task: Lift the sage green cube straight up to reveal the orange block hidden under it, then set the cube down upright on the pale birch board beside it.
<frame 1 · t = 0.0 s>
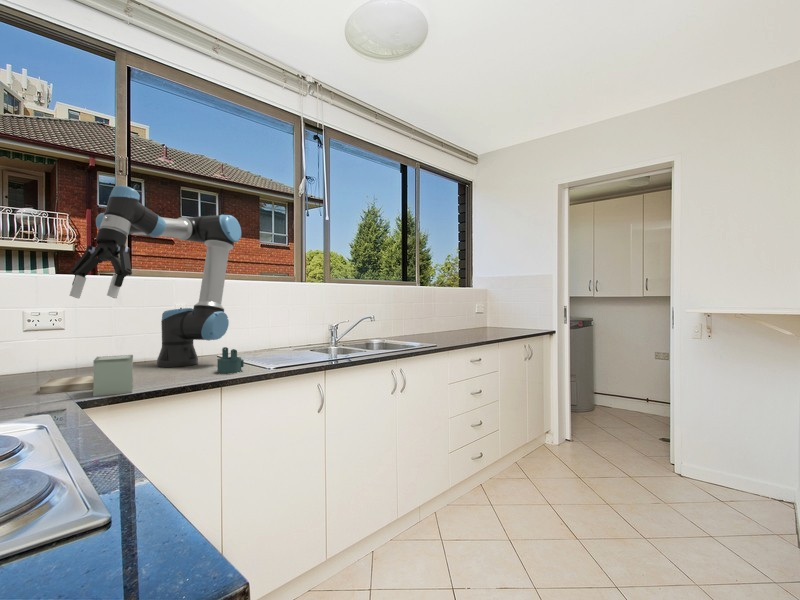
hand: (92, 297, 122), 28 cm above the countertop, tool tilted 20°, fingers open, 13 cm apart
bracket: (230, 372, 155), on the countertop
sage green cube: (114, 391, 122), on the countertop
birch board: (74, 387, 128), on the countertop
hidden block: (114, 385, 122), in the sage green cube
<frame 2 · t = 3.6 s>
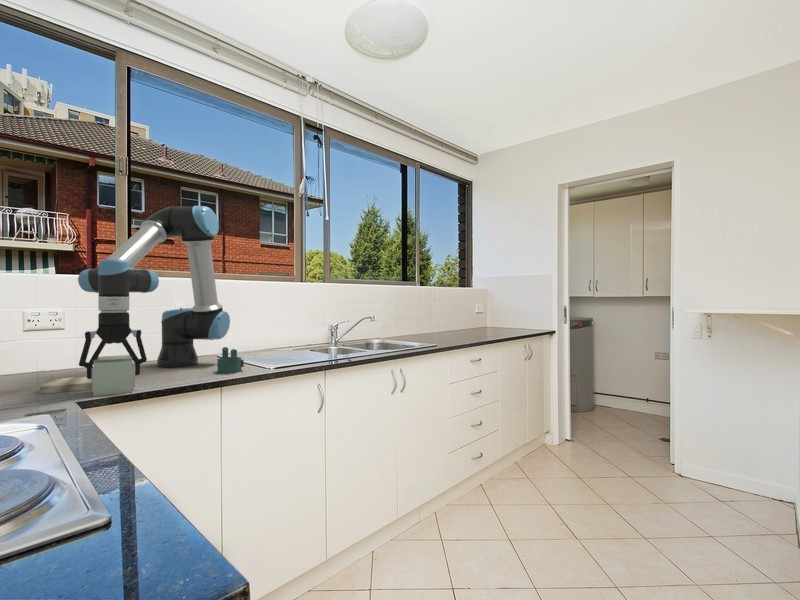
hand: (114, 388, 122), 1 cm above the countertop, tool pointing down, fingers closed on sage green cube, 9 cm apart
sage green cube: (114, 391, 122), on the countertop, touching gripper
everything else where it was.
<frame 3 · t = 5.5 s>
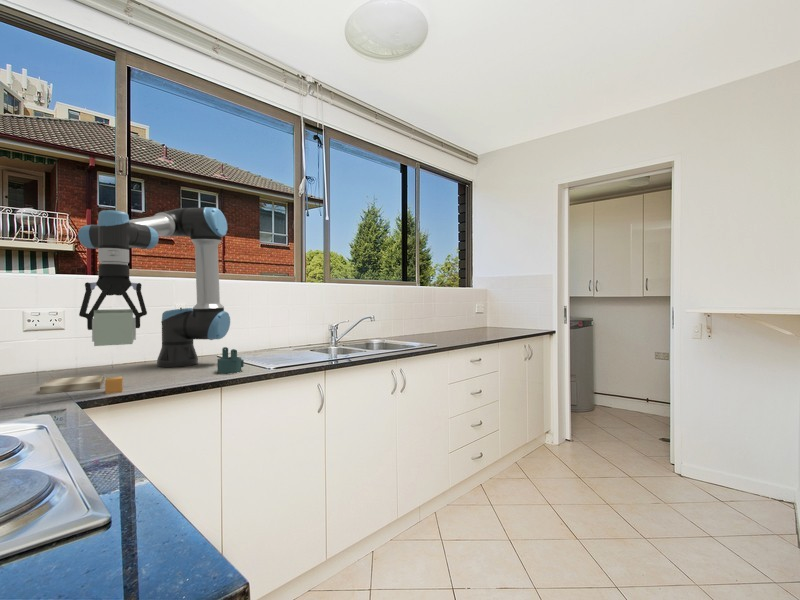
hand: (114, 340, 122), 15 cm above the countertop, tool pointing down, fingers closed on sage green cube, 9 cm apart
sage green cube: (114, 343, 122), point 14 cm above the countertop, touching gripper
everything else where it was.
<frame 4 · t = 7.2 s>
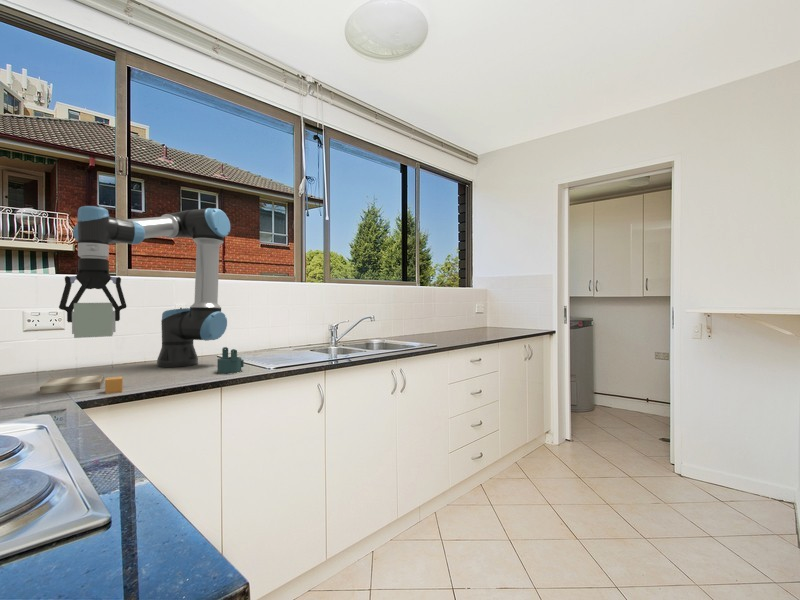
hand: (94, 332, 126), 17 cm above the countertop, tool pointing down, fingers closed on sage green cube, 9 cm apart
sage green cube: (94, 335, 126), point 16 cm above the countertop, touching gripper
everything else where it was.
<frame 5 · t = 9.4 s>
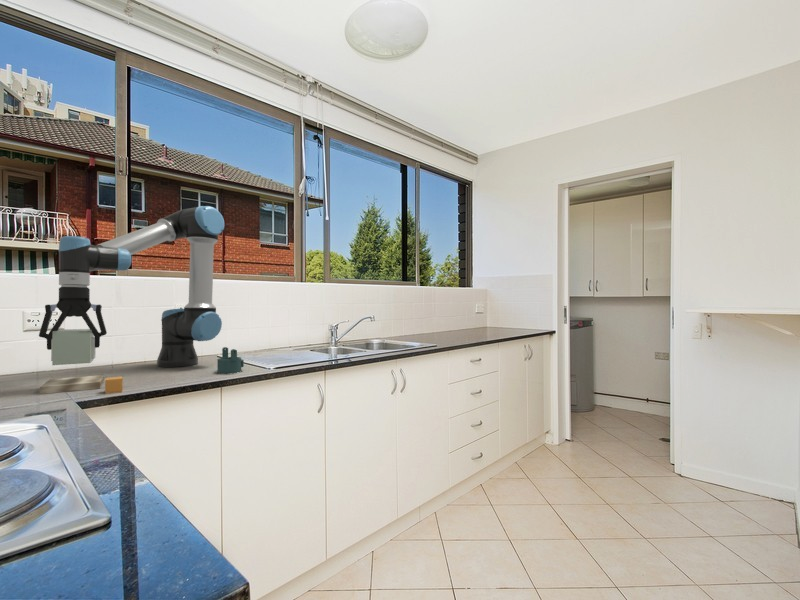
hand: (73, 359, 128), 9 cm above the countertop, tool pointing down, fingers closed on sage green cube, 9 cm apart
sage green cube: (73, 362, 128), point 8 cm above the countertop, touching gripper
everything else where it was.
when the fingers open (4 cm above the countertop, at t = 11.2 s): sage green cube stays where it is, resting on birch board.
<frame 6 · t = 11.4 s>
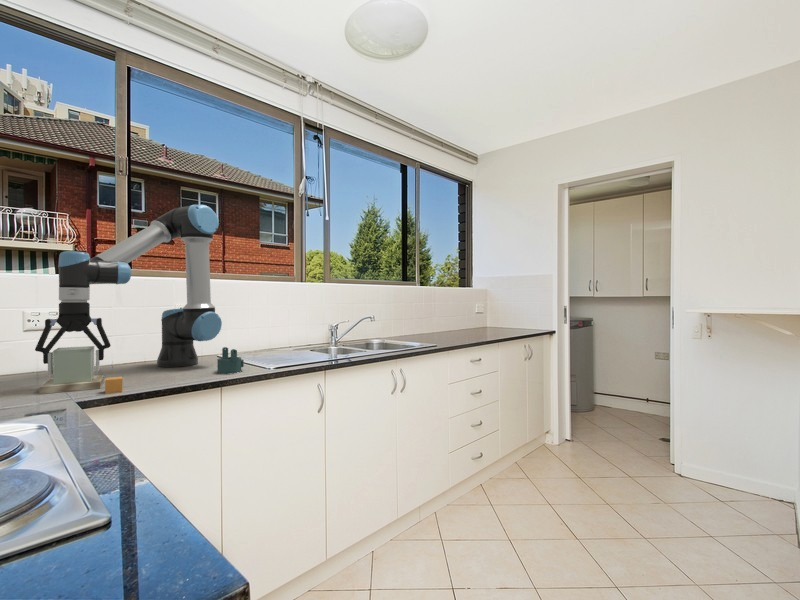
hand: (74, 372, 128), 4 cm above the countertop, tool pointing down, fingers open, 11 cm apart
sage green cube: (74, 380, 128), point 2 cm above the countertop, touching birch board
everything else where it was.
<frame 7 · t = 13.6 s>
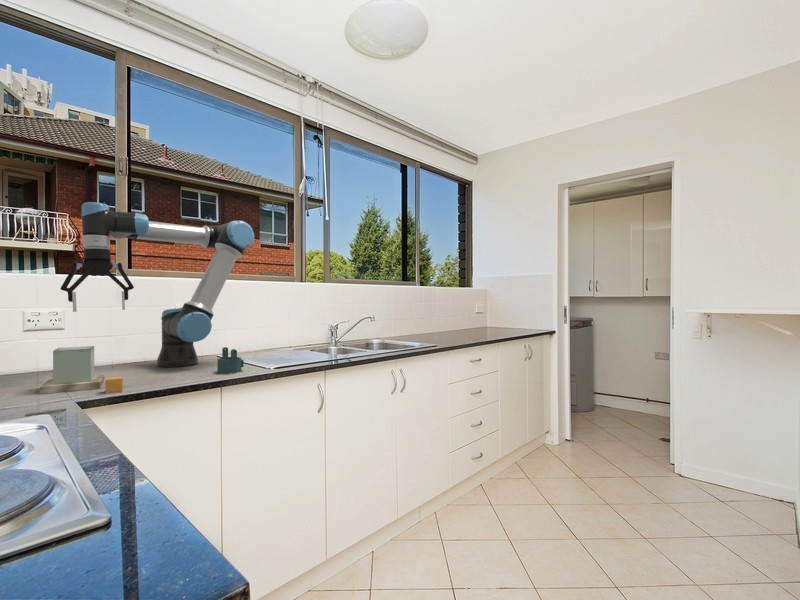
hand: (99, 310, 142), 23 cm above the countertop, tool pointing down, fingers open, 13 cm apart
nothing on the countertop moved.
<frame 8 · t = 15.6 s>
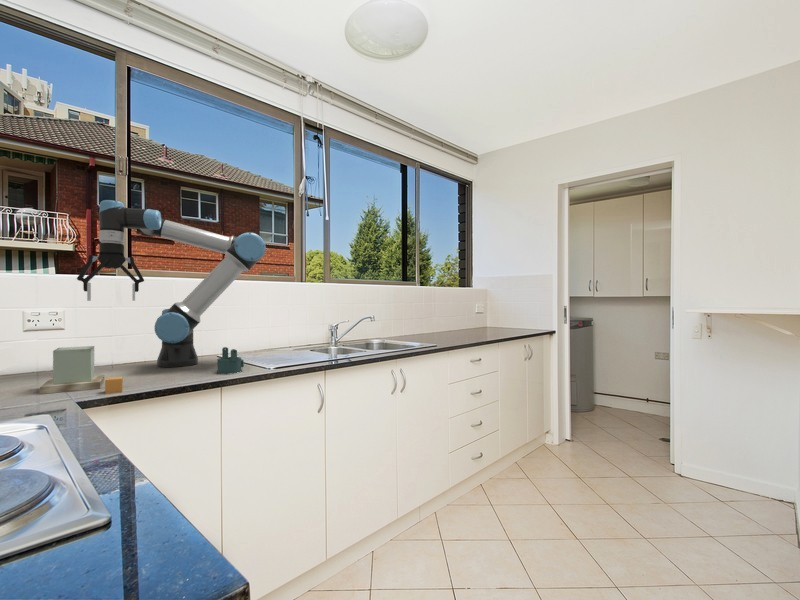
hand: (111, 300, 153), 27 cm above the countertop, tool pointing down, fingers open, 13 cm apart
nothing on the countertop moved.
at the end: sage green cube inside the target area on the birch board (0.0 cm from its centre), point 2.0 cm above the birch board's base; sage green cube tilted 0°; the gripper is holding nothing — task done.
